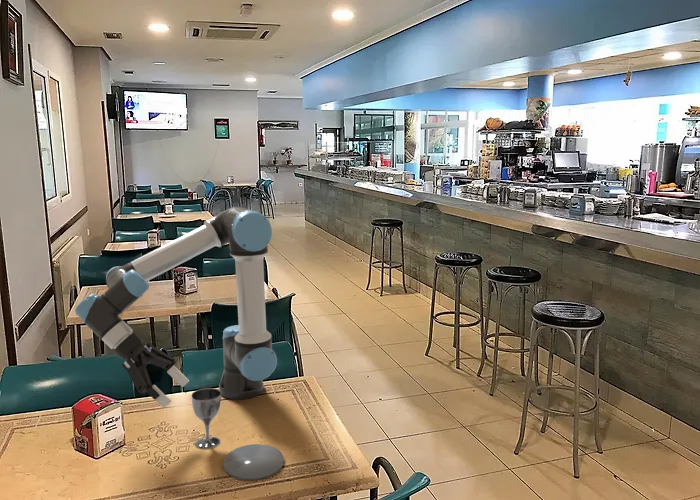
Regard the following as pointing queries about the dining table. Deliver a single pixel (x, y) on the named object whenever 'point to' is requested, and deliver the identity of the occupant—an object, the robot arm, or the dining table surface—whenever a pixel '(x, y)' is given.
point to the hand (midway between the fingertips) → (177, 394)
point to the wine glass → (206, 413)
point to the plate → (253, 462)
